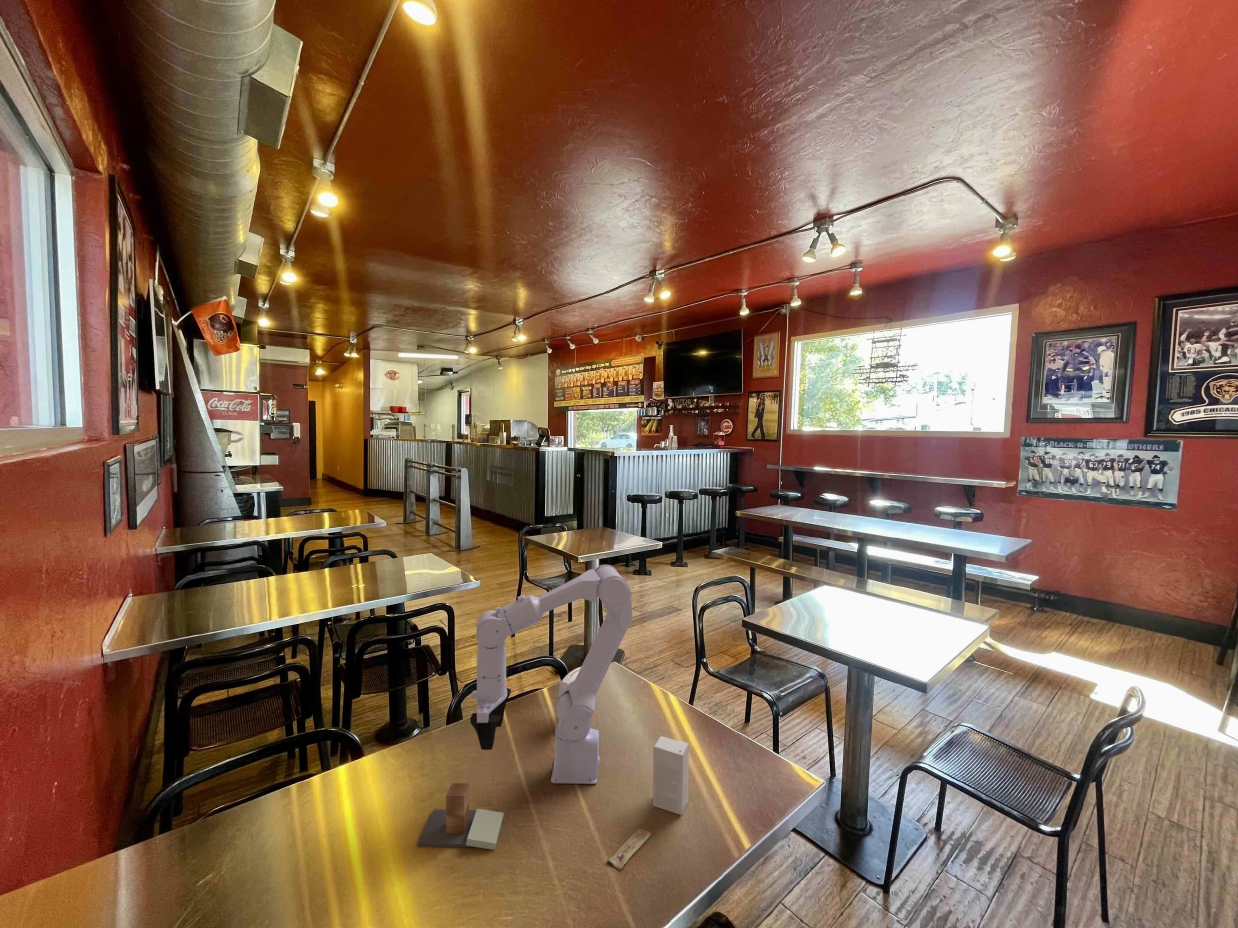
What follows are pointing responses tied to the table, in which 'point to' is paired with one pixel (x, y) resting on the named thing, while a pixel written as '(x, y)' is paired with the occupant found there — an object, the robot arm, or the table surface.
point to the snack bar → (629, 848)
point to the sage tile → (485, 829)
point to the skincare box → (670, 775)
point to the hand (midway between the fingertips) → (491, 736)
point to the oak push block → (457, 808)
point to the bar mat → (443, 831)
